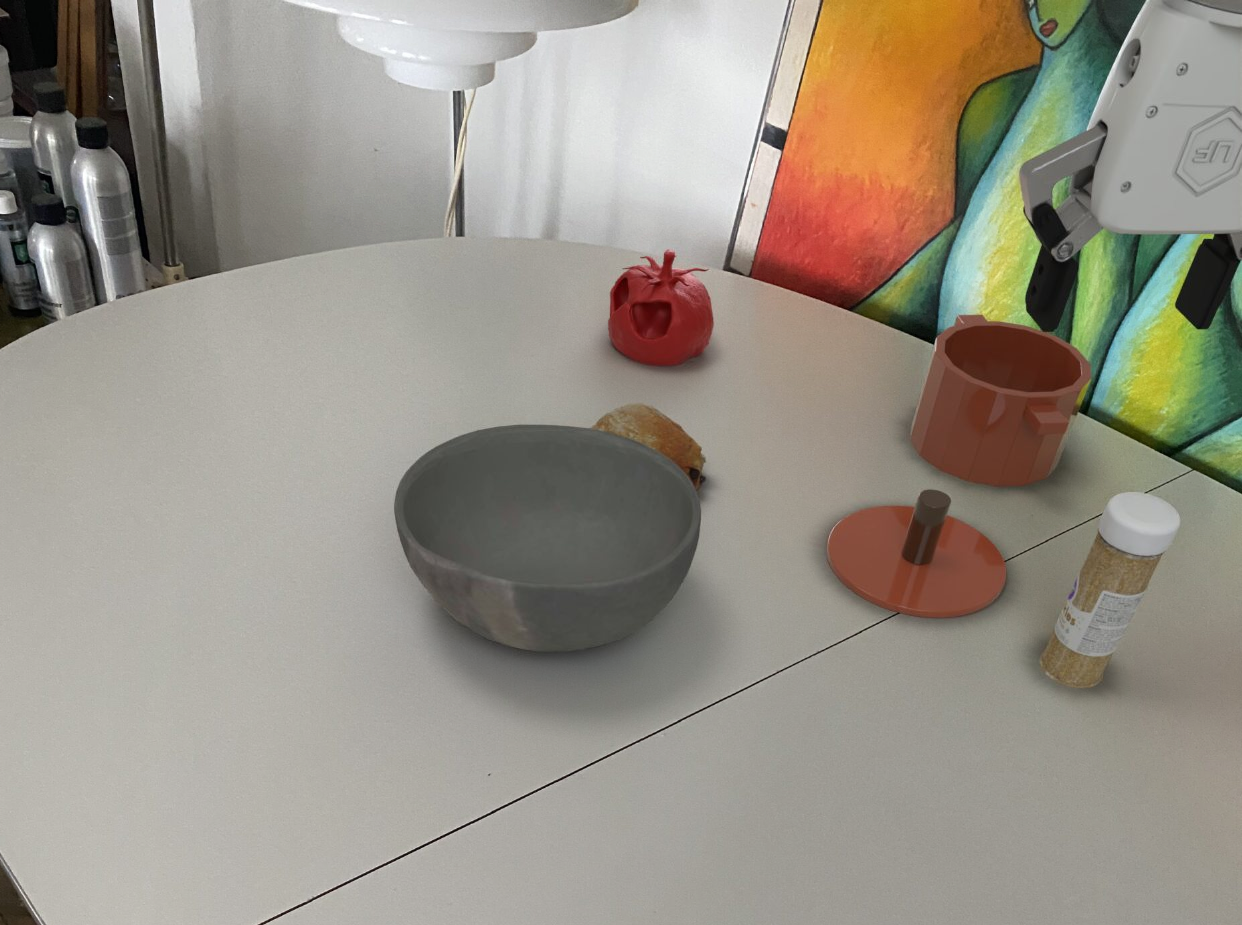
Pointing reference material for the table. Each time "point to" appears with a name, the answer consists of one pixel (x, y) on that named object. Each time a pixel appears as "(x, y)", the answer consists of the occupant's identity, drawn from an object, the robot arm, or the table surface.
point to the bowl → (548, 533)
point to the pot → (998, 402)
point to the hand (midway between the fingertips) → (1115, 320)
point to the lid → (917, 559)
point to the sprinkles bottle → (1109, 587)
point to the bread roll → (656, 436)
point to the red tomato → (660, 313)
